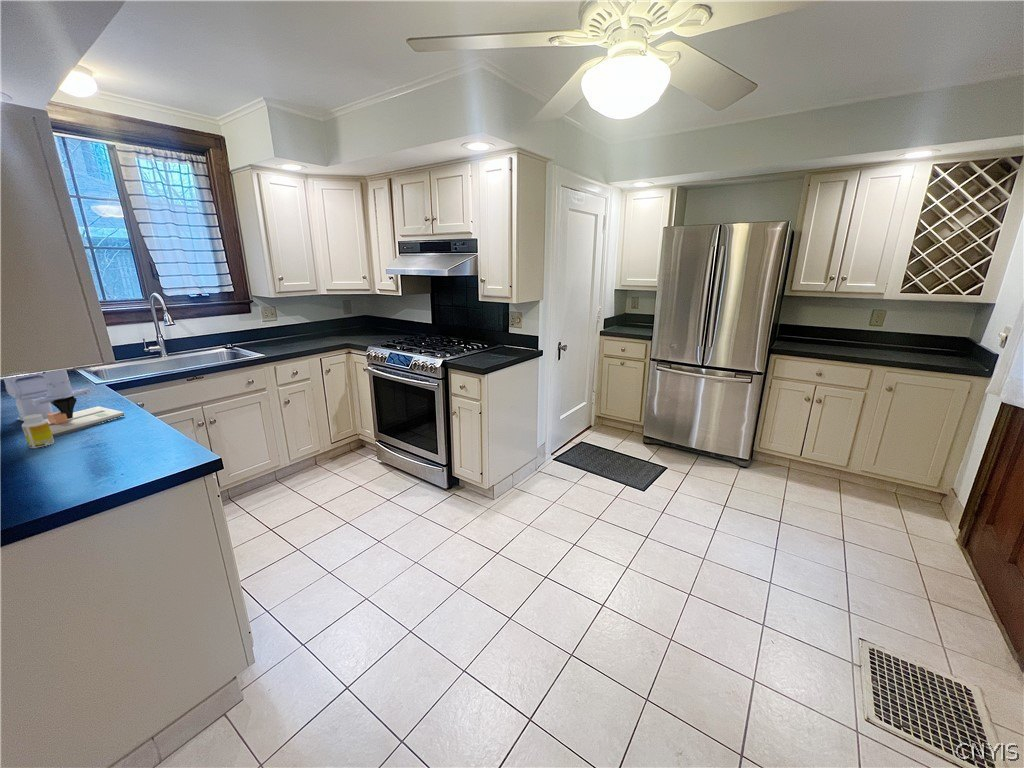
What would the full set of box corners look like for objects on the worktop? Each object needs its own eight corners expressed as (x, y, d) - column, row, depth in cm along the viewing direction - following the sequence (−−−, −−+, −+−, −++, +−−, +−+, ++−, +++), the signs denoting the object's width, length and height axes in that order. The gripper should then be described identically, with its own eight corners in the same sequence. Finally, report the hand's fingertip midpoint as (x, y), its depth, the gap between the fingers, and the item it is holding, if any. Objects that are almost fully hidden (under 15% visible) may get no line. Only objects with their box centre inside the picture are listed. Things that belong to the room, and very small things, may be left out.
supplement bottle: (60, 441, 134) (50, 412, 131) (43, 449, 129) (33, 419, 126) (41, 441, 134) (31, 413, 131) (23, 449, 129) (13, 419, 126)
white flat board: (28, 429, 143) (26, 423, 142) (99, 410, 161) (98, 405, 160) (54, 436, 138) (52, 431, 137) (125, 416, 156) (123, 411, 155)
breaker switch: (49, 424, 144) (46, 414, 142) (61, 421, 146) (57, 411, 145) (57, 427, 142) (54, 416, 141) (69, 424, 145) (65, 413, 144)
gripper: (35, 389, 135) (47, 427, 139) (90, 378, 148) (100, 413, 152) (23, 386, 137) (36, 423, 141) (79, 376, 150) (89, 410, 154)
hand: (68, 418), depth 146 cm, fingers closed
